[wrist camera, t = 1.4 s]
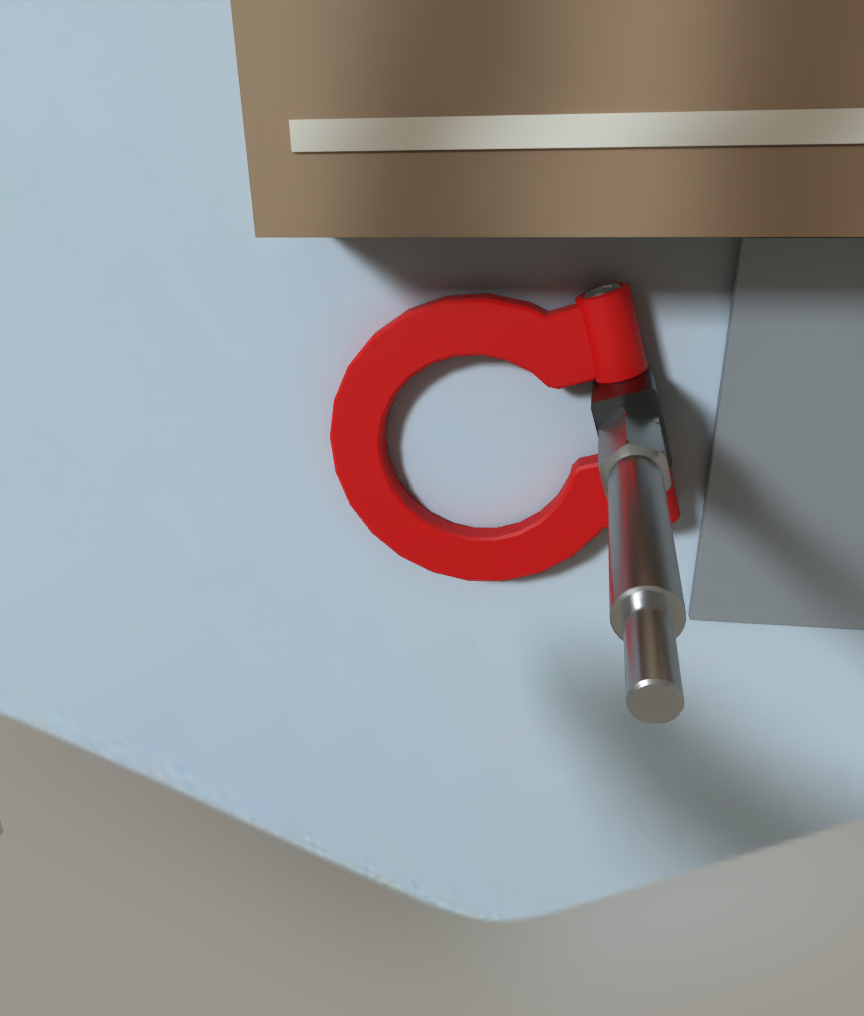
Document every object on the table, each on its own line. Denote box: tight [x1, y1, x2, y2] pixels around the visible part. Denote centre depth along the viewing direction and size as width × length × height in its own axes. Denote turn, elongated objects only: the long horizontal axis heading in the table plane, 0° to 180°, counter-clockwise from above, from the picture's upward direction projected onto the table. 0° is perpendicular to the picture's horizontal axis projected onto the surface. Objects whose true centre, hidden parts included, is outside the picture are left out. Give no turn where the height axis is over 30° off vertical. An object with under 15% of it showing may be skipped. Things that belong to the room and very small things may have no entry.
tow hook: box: [330, 283, 686, 724], centre depth 18 cm, size 8×13×9 cm
